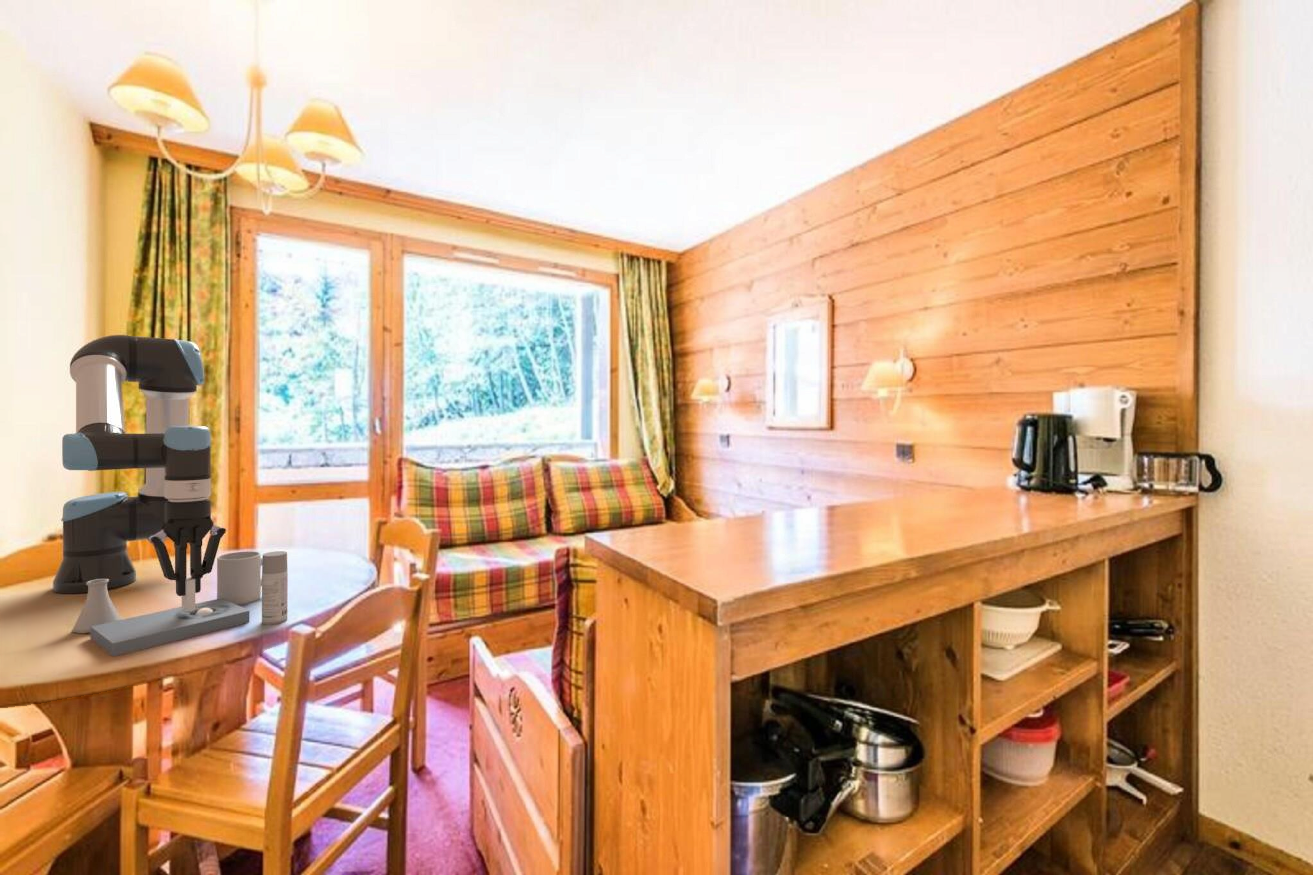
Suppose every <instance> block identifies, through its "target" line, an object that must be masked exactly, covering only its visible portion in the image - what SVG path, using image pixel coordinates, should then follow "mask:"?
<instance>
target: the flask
mask: <svg viewBox="0 0 1313 875" xmlns="http://www.w3.org/2000/svg"><path fill="white" fill-rule="evenodd" d="M107 582H109V579H96V580H91V581H88V582H86V585H88V592H87V595H86V600H85V602H84V604H83V607H82V609H81V611H80V613H79V615H78V618H77V620H76V622H75V624H74V626H73V627H72V629H71V632H72V633H77V634H91V626H95V625H100V624H104V623H109V622H114V621H118V620H123V618H122V617H121V616H120V614H119V612H118V610H117V609H116V606H115V605H114V603H113V601H112V599H111V598H110V595H109V591H108V590H109V589H107Z"/></svg>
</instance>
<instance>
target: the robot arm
mask: <svg viewBox="0 0 1313 875" xmlns="http://www.w3.org/2000/svg"><path fill="white" fill-rule="evenodd" d="M202 359H203V358H202V355H201V352H200V349H199V347H198V345H197V344H196V343H194V342H193V341H187V340H181V339H175V338H174V339H173V338H163V337H162V338H161V337H149V336H135V335H134V336H133V335H129V334H128V335H126V334H114V335H113V334H112V335H107V336H103V337H100V338H99V337H98V338H96V339H93V340H92V341H90V342H87V344H85V345H83V346H82V347H80V348H79V349H78V350H77V351H76V352H75V353H74V355H73V357H72V358H71V360H70V362H69V374H70V378H71V379H72V380H73V382H74V383H75V433H66V434H64V435H63V436H62V439H61V440H62V442H61V446H62V447H61V449H62V452H61V455H62V459H61V460H62V466H63V468H64V469H66V470H69V471H88V472H94V471H108V470H110V471H112V470H130V469H131V470H132V469H137V470H138V469H139V470H140V469H145V483H144V485H142V486H140V488H138V490H137V496H128V494H127V492H125V491H115V492H114V491H113V492H112V491H111V492H103V493H97V494H96V493H95V494H89V495H83V496H80V497H76V498H72V499H69V500H67V501H66V502H65V503H64V505H63V506H62V518H61V519H60V520H61V522H62V560H61V561H60V565H59V567H58V570H57V572H56V574H55V576H54V579H53V581H52V591H53V592H54V593H58V594H82V593H88V585H86V582H88V581H91V580H96V579H109V582H107V590H110V589H115V588H119V587H124V586H127V585H128V584H129V585H130V584H132V583H133V582H135V581H136V580H137V571H136V568H135V567H134V564H133V562H132V559H131V558H130V556H129V553H128V551H127V550H128V544H127V543H128V542H133V541H142V540H145V541H146V540H148V541H149V543H150V544H151V545H152V546H153V547H154V550H155V553H156V556H157V560H158V562H159V565H160V568H161V571H162V575H163V577H164V578H165V579H166V580H167V579H168V580H170V581H175V594H176V596H178V597H181V607H182V609H183V610H185V611H186V612H187V611H192V610H195V604H196V594H197V593H200V592H201V590H202V589H201V588H202V583H201V582H202V581H201V580H202V578H203V576H204V575H205V576H206V575H207V574H210V573H211V572H212V571H213V567H214V564H215V560H216V557H217V552H218V549H219V547H220V544H221V543H220V542H221V539H222V537H223V536H224V535H225V534H226V532H227V530H226V528H224V527H222V526H218V525H215V524H214V521H213V520H212V500H211V499H210V498H208V497H210V496H211V495H212V492H211V489H212V488H211V487H212V486H211V485H212V484H211V483H212V481H211V479H212V478H211V477H212V476H211V454H212V453H211V451H212V450H211V448H212V446H211V445H212V443H213V442H212V439H211V438H212V437H211V430H210V428H209V427H208V426H202V425H189V423H190V422H189V421H190V419H189V418H190V397H191V396H193V395H194V394H195V393H197V391H198V390H197V387H198V386H199V387H200V386H203V385H204V383H205V371H204V363H203V360H202ZM124 382H129V383H130V382H131V383H138V390H139V391H140V392H142V393H143V394H144V395H145V397H146V401H145V402H146V403H145V405H146V412H145V414H146V416H145V418H146V419H145V420H146V421H145V422H146V423H145V425H146V426H145V427H146V429H145V433H126V427H125V426H126V424H125V413H124V412H125V411H124V399H123V398H124V397H123V387H122V385H123V383H124ZM208 533H209V535H210V536H209V539H208V541H207V545H206V548H205V552H204V555H202V552H203V551H202V548H203V539H204V538H205V537H206V536H207V535H208ZM166 538H169V539H170V540H171V541H172V543H173V547H174V567H173V564H172V560H171V558H170V555H169V552H168V549H167V546H166V543H165V542H166ZM188 545H189V562H190V563H189V572H190V573H189V575H190V576H188V577H187V562H188V560H187V552H188V551H187V550H188ZM202 556H203V558H202Z"/></svg>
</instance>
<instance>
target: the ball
mask: <svg viewBox="0 0 1313 875" xmlns="http://www.w3.org/2000/svg"><path fill="white" fill-rule="evenodd" d="M212 612H213V610H212V609H210V608H202V609H200V610H198V611H197V612H196V614H195V615H204V614H209V613H212Z"/></svg>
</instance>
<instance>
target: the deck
mask: <svg viewBox="0 0 1313 875" xmlns="http://www.w3.org/2000/svg"><path fill="white" fill-rule="evenodd" d="M202 608H210V609H212V610H213V612H212V613H209V614H204V615H195V614H196V612H197V611H198V610H200V609H202ZM246 623H250V610H249V609H246V608H244V607H242V606H241V605H236V604H234V603H232V602H230V601H228V600H226V599H223V598H220V599H217V598H216V599H211V600H207V601H203V602H196V603H195V610H192V611H187V612H186V611H185V610H183V609H182V606H179V607H174V608H169V609H166V610H160V611H155V612H151V613H145V614H143V615H138V616H133V617H129V618H122V620H118V621H114V622H109V623H104V624H100V625H95V626H91V633H90V640H91V641H93V642H94V643H95V644H96V645H98V646H99V647H101V649H102V650H104V651H105V652H106V653H108V654H109V655H110V656H112V657H113V658H114V657H117V656H122V655H125V654H129V653H133V652H136V651H140V650H145V649H148V648H152V647H156V646H160V645H165V644H168V643H173V642H175V641H176V642H177V641H180V640H183V639H188V638H192V637H196V636H200V635H203V634H204V635H205V634H207V633H208V634H209V633H210V632H215V631H220V630H222V629H227V628H231V627H235V626H238V625H244V624H246Z"/></svg>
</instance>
